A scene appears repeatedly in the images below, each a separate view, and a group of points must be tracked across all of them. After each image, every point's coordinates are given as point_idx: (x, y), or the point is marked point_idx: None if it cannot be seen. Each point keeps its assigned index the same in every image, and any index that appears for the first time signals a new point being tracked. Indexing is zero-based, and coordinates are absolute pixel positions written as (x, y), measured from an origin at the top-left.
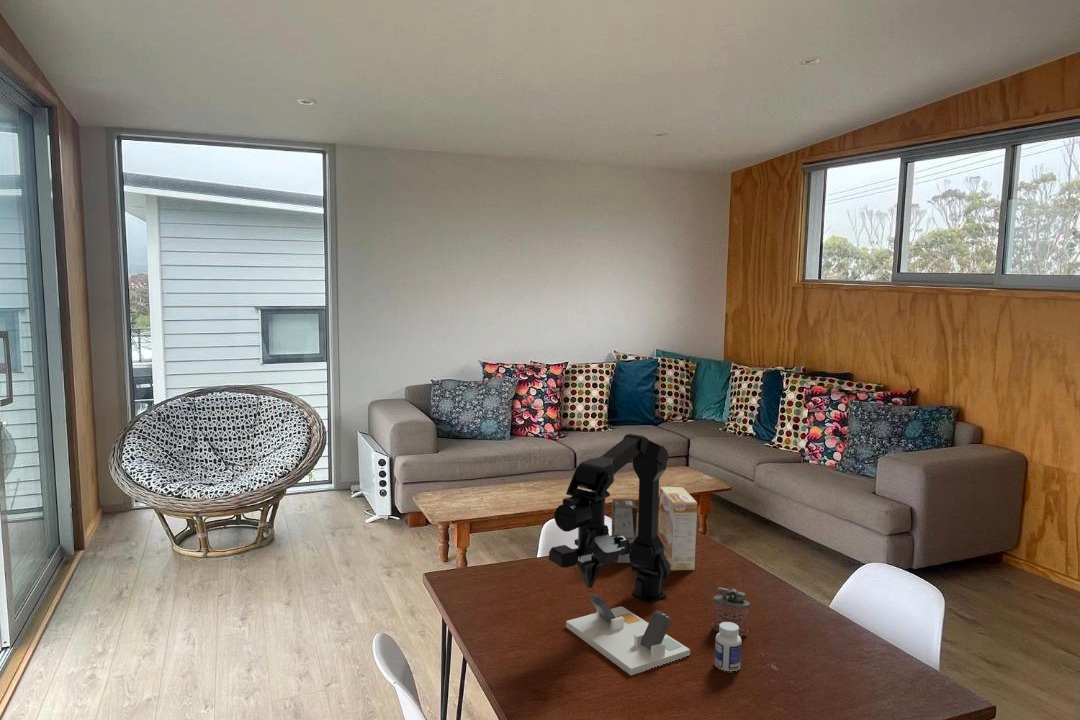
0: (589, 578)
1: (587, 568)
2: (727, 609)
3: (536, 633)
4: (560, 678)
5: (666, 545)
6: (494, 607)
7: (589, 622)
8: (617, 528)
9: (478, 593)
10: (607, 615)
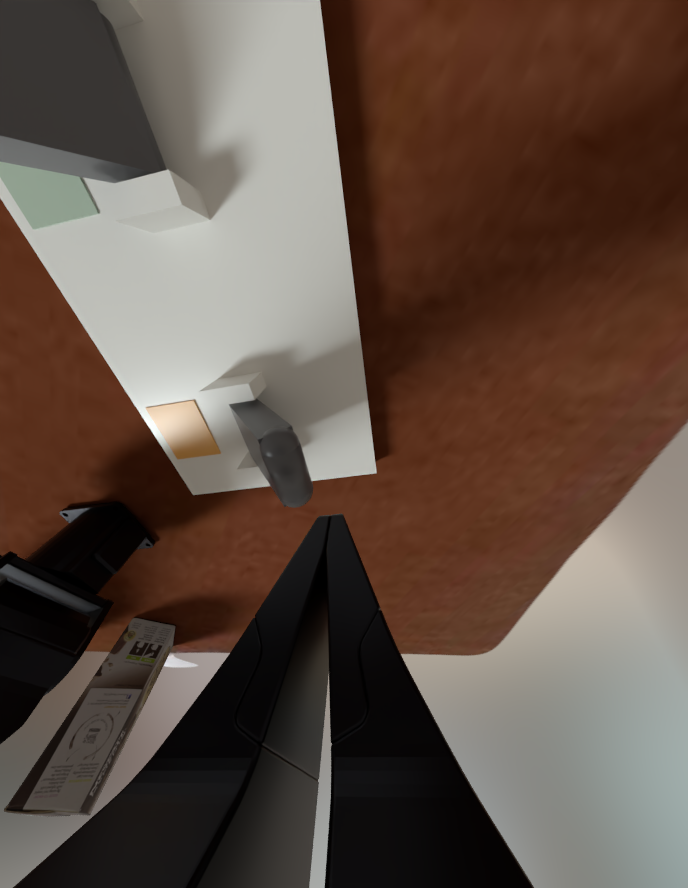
0: (353, 581)
1: (434, 774)
2: None
3: (463, 458)
4: (632, 98)
5: None
6: (469, 567)
7: (316, 446)
8: (117, 721)
9: (461, 606)
10: (264, 409)
